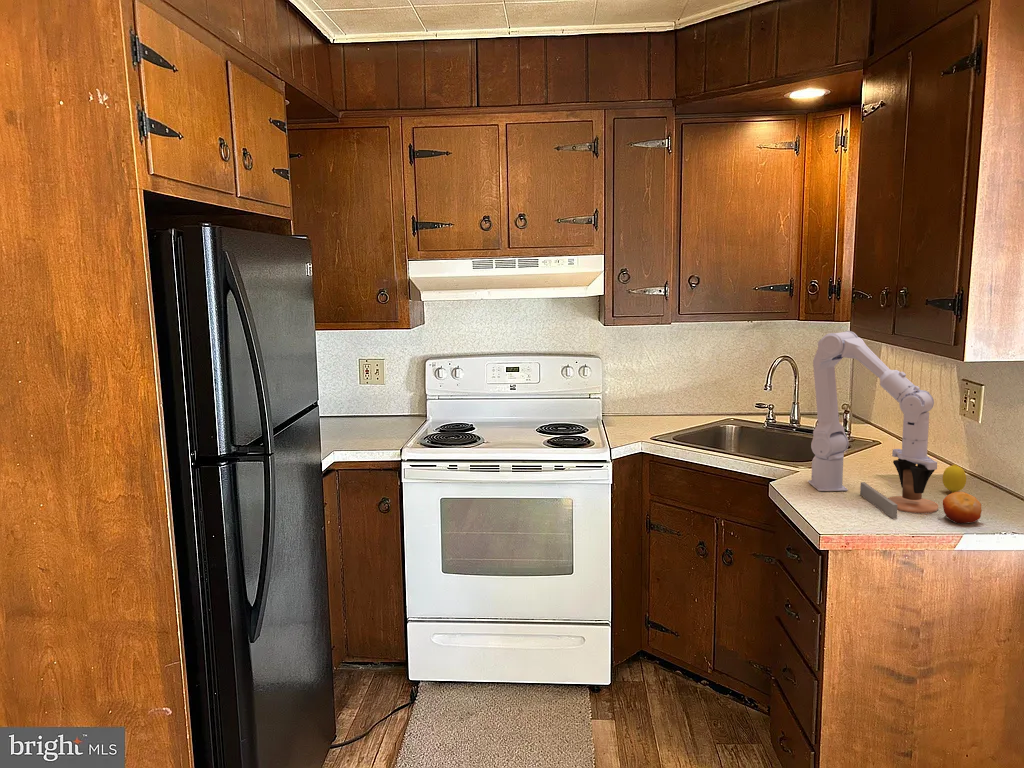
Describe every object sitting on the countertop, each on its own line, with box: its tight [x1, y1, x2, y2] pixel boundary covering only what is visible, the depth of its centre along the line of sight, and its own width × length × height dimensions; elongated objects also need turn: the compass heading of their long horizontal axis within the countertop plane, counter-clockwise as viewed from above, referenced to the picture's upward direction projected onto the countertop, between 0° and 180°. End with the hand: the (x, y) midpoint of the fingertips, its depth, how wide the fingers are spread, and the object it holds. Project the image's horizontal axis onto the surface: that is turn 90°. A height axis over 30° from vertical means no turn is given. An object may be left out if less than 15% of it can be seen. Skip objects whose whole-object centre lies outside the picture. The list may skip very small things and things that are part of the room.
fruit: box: [942, 491, 983, 525], centre depth 178 cm, size 8×8×8 cm
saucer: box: [887, 495, 939, 514], centre depth 190 cm, size 12×12×1 cm
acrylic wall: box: [859, 481, 898, 520], centre depth 190 cm, size 20×1×4 cm, turn 176°
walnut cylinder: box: [901, 469, 923, 500], centre depth 189 cm, size 4×4×7 cm
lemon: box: [942, 463, 967, 493], centre depth 199 cm, size 6×6×8 cm
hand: (912, 490), depth 189 cm, fingers closed on walnut cylinder, 4 cm apart
